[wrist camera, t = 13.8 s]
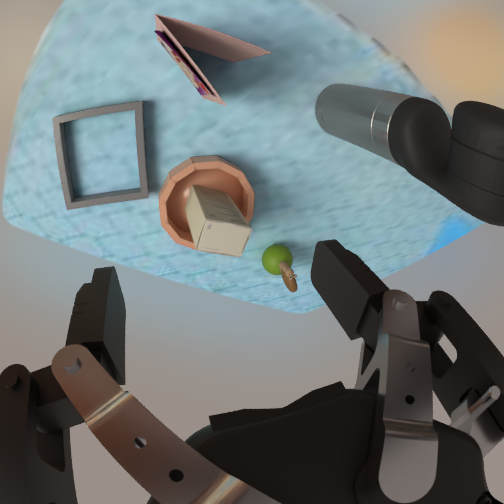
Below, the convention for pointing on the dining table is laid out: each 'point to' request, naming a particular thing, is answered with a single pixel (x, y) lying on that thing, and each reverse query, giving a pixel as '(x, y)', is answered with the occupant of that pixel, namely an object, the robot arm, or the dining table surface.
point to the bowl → (205, 175)
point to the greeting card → (201, 49)
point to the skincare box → (216, 222)
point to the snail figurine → (280, 264)
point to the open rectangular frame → (64, 164)
